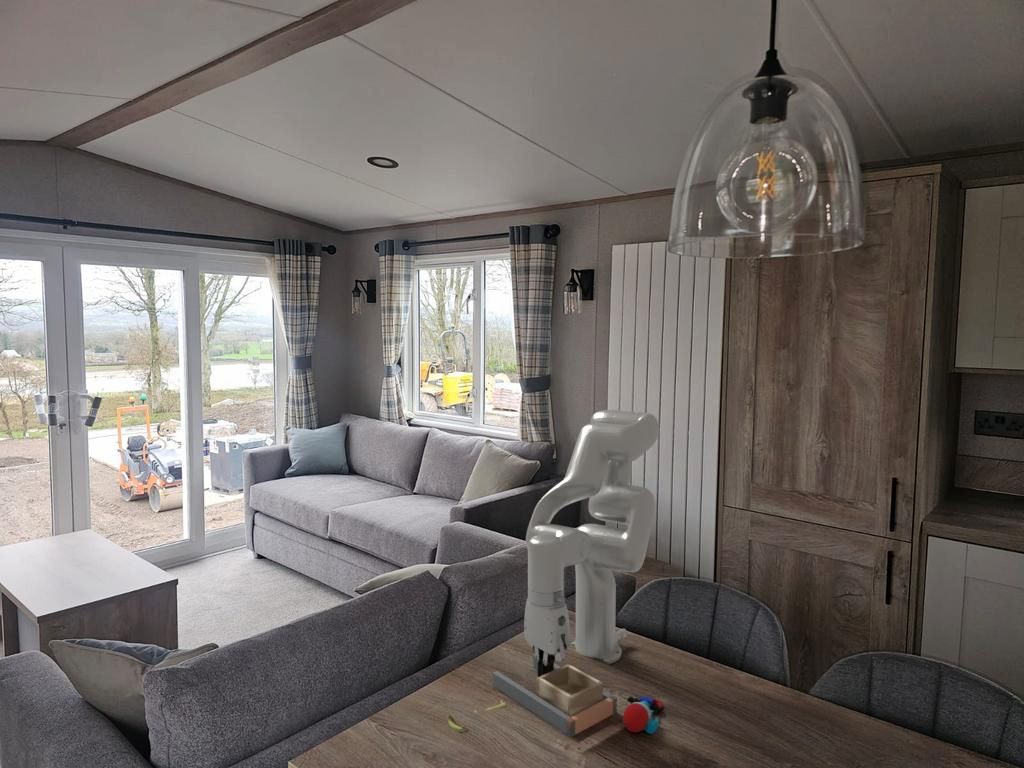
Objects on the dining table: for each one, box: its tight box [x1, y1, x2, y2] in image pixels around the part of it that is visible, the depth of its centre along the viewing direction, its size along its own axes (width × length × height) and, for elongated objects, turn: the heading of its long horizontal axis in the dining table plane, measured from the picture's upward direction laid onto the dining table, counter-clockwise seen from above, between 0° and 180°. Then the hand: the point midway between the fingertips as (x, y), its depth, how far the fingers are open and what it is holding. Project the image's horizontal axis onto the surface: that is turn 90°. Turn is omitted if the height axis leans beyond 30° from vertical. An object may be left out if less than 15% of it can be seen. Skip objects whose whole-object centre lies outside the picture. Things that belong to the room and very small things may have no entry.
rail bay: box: [492, 654, 618, 738], centre depth 141 cm, size 24×13×4 cm, turn 40°
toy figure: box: [622, 695, 664, 735], centre depth 136 cm, size 8×5×15 cm
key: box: [447, 699, 507, 733], centre depth 137 cm, size 7×12×2 cm, turn 131°
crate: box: [536, 663, 604, 717], centre depth 137 cm, size 10×9×6 cm
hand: (545, 679), depth 142 cm, fingers closed
